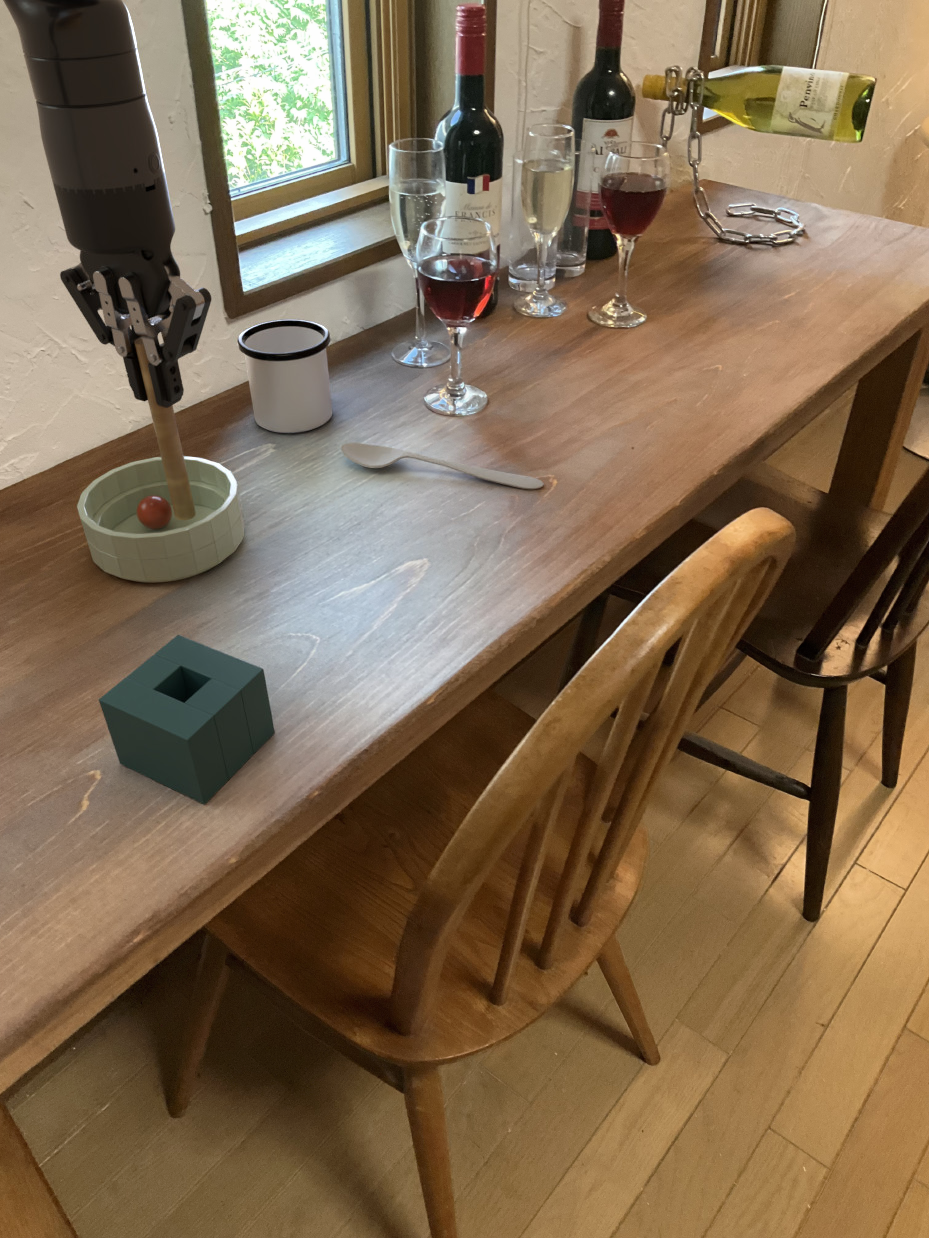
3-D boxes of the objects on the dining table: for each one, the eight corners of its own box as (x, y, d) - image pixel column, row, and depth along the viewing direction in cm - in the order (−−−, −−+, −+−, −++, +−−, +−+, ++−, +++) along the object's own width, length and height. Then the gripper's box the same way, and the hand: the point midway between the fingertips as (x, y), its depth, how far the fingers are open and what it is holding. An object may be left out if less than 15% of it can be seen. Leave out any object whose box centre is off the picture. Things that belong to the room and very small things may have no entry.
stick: (186, 522, 83) (146, 346, 73) (170, 517, 84) (129, 342, 74) (200, 513, 84) (163, 338, 74) (184, 507, 85) (145, 334, 75)
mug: (310, 444, 99) (300, 361, 93) (232, 428, 102) (218, 346, 96) (363, 396, 108) (357, 317, 102) (290, 382, 110) (280, 305, 105)
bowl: (175, 604, 78) (163, 554, 75) (59, 559, 83) (43, 510, 80) (275, 526, 87) (268, 478, 84) (165, 489, 92) (154, 443, 89)
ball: (158, 539, 84) (151, 510, 83) (133, 530, 86) (125, 501, 84) (182, 522, 87) (175, 494, 85) (157, 514, 88) (150, 485, 86)
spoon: (349, 449, 98) (348, 434, 97) (547, 475, 94) (548, 460, 93) (334, 469, 95) (333, 454, 94) (538, 497, 91) (539, 482, 90)
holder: (204, 805, 62) (187, 740, 58) (119, 763, 65) (98, 699, 61) (275, 732, 67) (263, 668, 63) (193, 697, 70) (178, 633, 66)
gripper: (-5, 170, 66) (62, 400, 77) (143, 197, 61) (193, 440, 72) (77, 146, 71) (130, 365, 82) (220, 169, 66) (256, 400, 77)
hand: (159, 399), depth 77 cm, fingers closed on stick, 2 cm apart
